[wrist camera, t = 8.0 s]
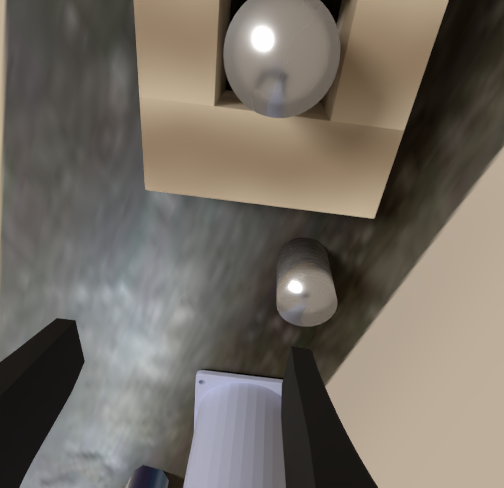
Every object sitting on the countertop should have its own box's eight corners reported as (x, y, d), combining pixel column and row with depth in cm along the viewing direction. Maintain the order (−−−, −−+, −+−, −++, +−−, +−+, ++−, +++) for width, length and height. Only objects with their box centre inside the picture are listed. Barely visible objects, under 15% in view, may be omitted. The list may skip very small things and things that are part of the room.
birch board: (358, 186, 18) (374, 218, 15) (166, 162, 18) (145, 189, 15) (456, -146, 12) (517, -201, 9) (158, -187, 12) (117, -256, 9)
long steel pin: (306, 86, 16) (322, 126, 10) (240, 74, 16) (217, 108, 10) (324, 6, 14) (356, -2, 8) (251, -7, 14) (230, -26, 8)
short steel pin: (319, 283, 22) (326, 331, 18) (271, 274, 22) (270, 320, 18) (334, 243, 20) (345, 287, 17) (283, 233, 20) (284, 275, 17)
